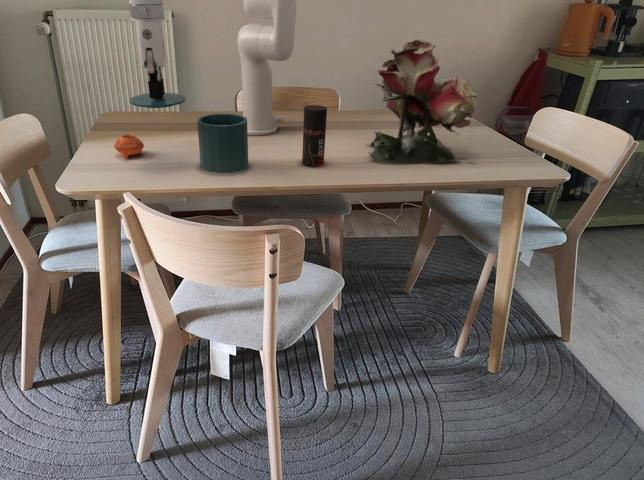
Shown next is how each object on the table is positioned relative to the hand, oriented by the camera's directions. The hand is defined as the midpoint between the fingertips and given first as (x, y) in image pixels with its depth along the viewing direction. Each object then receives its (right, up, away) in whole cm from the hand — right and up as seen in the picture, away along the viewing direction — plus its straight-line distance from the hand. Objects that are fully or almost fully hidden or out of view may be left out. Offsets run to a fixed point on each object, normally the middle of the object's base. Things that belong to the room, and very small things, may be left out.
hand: (157, 96), depth 123 cm
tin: (+15, -15, +11) cm, 24 cm away
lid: (0, -1, +1) cm, 1 cm away
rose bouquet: (+69, -7, +26) cm, 74 cm away
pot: (-12, -11, +17) cm, 23 cm away
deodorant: (+39, -14, +14) cm, 44 cm away
